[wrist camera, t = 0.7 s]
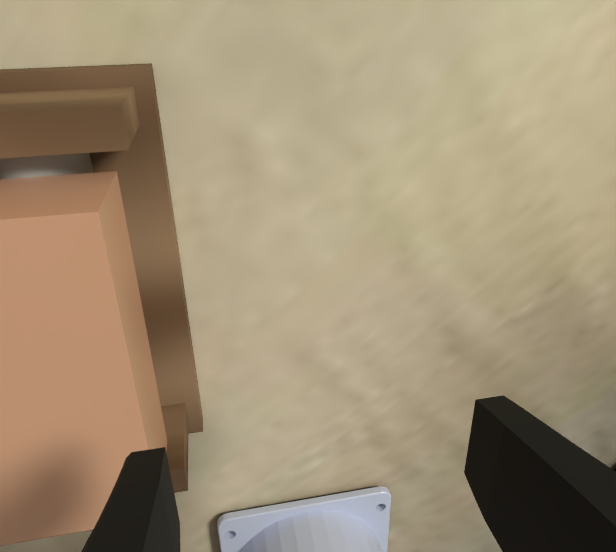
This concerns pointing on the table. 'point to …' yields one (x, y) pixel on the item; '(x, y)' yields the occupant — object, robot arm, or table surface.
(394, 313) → the table surface
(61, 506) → the tile
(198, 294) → the table surface
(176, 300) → the track
